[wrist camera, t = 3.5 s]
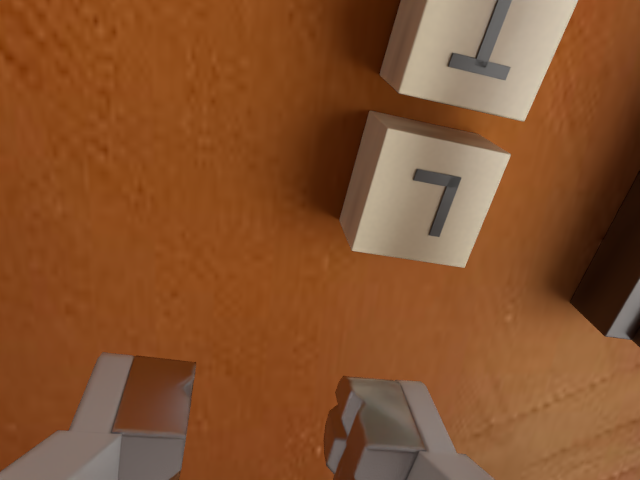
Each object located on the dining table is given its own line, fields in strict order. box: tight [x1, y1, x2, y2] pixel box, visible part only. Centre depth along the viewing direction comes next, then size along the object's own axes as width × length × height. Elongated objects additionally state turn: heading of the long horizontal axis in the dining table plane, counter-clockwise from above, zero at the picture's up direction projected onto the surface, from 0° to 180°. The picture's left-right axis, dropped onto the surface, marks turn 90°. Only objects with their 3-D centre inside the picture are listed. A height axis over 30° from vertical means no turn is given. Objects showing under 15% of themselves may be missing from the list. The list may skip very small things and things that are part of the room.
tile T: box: [380, 0, 578, 121], centre depth 19 cm, size 6×6×3 cm
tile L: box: [339, 111, 511, 268], centre depth 22 cm, size 6×6×3 cm
